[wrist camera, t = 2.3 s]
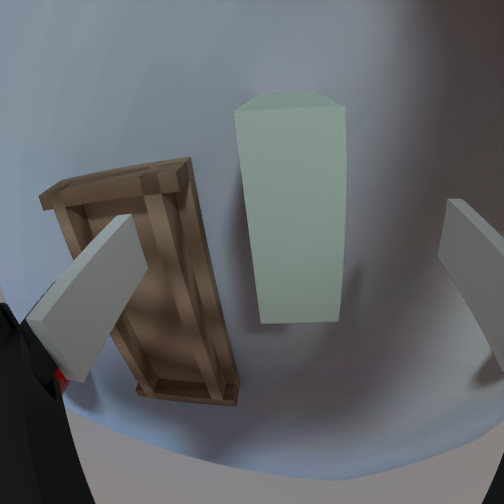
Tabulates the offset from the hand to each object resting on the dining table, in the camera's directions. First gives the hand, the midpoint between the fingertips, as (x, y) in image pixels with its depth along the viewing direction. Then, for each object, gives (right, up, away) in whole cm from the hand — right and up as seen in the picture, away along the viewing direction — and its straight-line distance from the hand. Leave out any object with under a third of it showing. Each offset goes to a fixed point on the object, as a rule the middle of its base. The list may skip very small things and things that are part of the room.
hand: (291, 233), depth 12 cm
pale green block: (+1, +5, +7) cm, 8 cm away
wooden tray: (-10, -5, +14) cm, 18 cm away
